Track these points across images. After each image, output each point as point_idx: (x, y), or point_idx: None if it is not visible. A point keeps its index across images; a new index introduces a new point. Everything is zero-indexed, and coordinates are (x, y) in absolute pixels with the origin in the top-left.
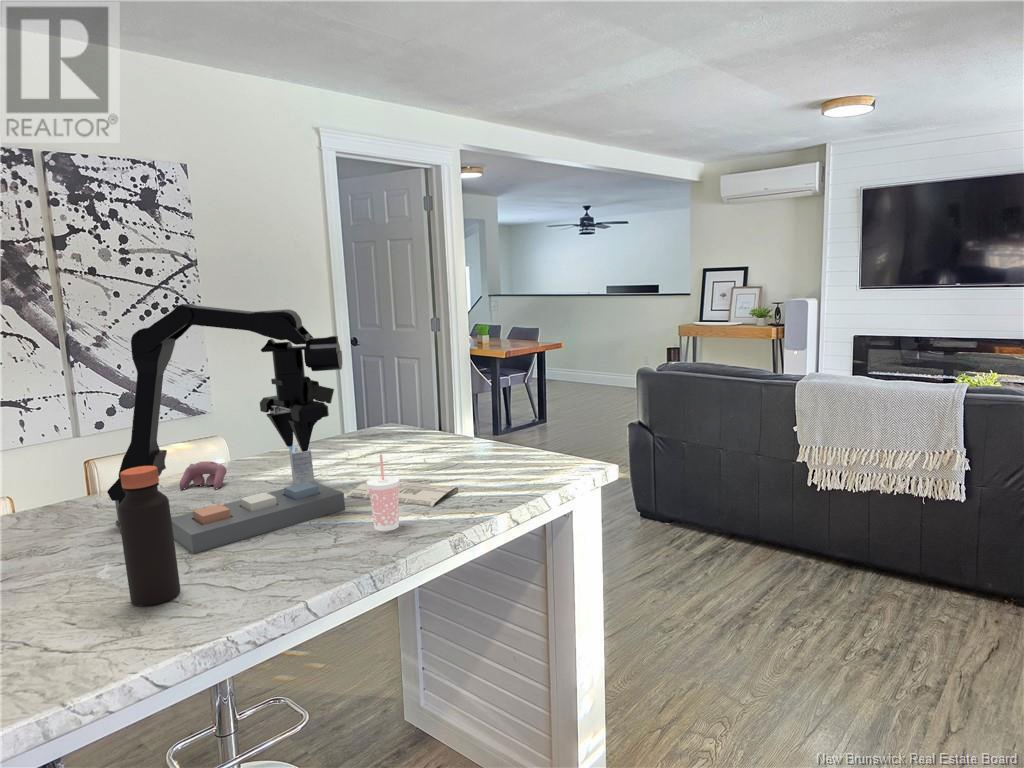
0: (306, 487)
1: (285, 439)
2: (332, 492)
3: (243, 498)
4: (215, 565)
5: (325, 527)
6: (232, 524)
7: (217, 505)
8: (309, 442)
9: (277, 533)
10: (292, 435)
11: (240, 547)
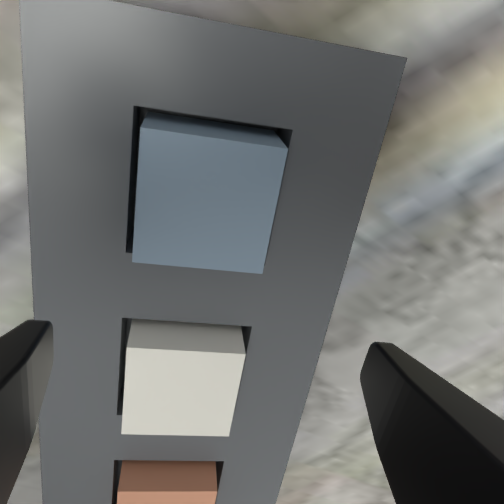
0: (247, 198)
1: (28, 446)
2: (341, 88)
3: (132, 428)
4: (363, 497)
5: (442, 234)
6: (281, 478)
7: (131, 500)
8: (458, 389)
9: (330, 344)
10: (2, 393)
11: (322, 436)
